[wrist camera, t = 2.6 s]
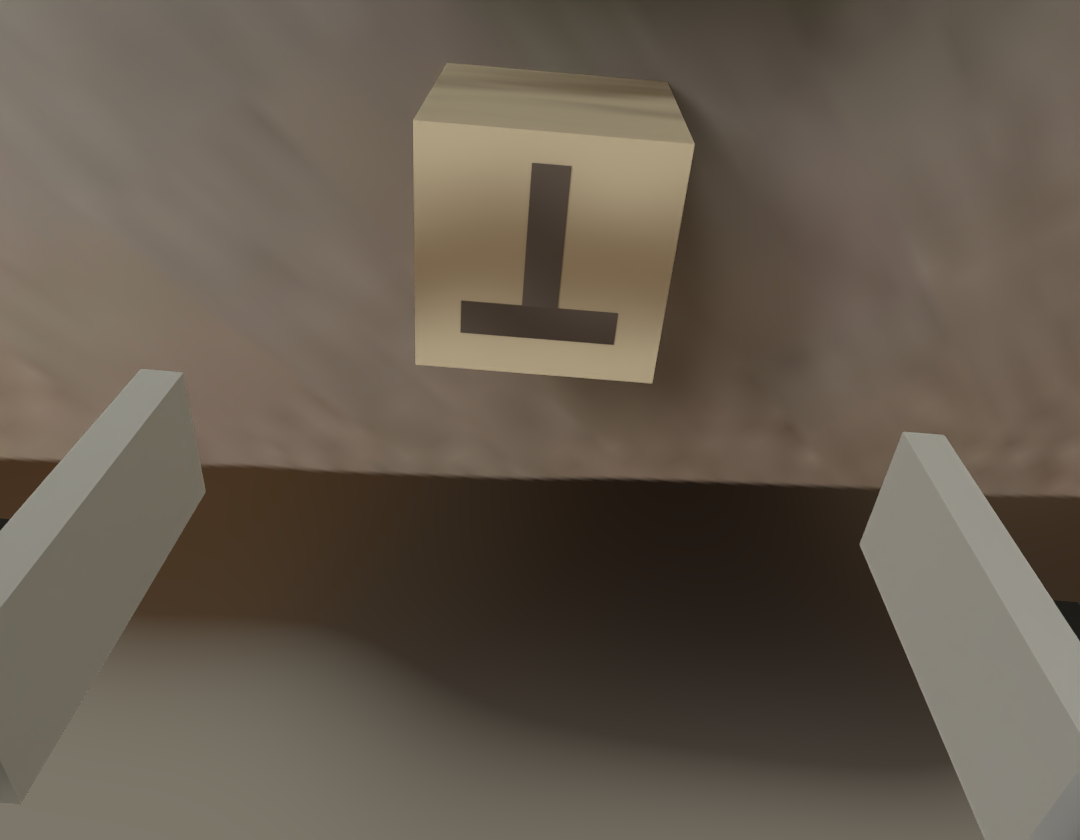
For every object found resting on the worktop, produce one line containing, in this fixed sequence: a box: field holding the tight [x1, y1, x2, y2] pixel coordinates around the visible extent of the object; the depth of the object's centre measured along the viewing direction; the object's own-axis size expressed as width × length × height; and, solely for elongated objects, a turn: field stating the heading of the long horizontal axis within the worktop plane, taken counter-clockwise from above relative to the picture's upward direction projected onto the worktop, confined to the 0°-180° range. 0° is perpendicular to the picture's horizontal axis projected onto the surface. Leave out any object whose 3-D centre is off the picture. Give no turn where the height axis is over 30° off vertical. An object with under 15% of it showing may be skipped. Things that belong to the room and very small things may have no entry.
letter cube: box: [413, 63, 695, 383], centre depth 25 cm, size 7×7×7 cm
